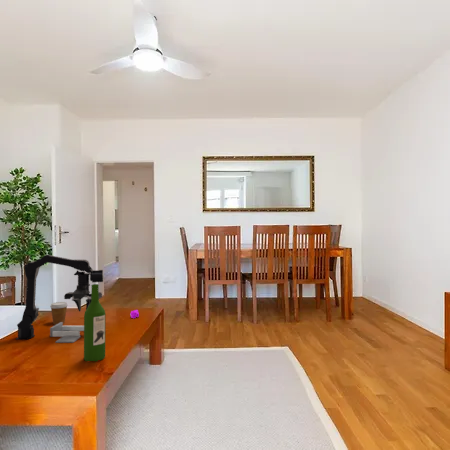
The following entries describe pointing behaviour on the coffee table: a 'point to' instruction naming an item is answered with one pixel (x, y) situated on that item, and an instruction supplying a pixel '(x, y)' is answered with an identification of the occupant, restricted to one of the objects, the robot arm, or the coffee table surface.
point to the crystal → (134, 314)
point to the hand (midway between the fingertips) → (83, 311)
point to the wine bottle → (94, 328)
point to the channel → (65, 330)
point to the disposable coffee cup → (58, 312)
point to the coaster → (68, 339)
